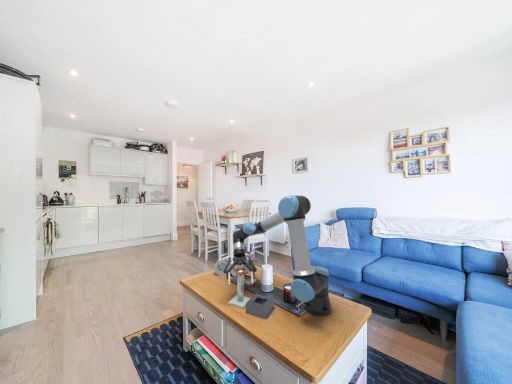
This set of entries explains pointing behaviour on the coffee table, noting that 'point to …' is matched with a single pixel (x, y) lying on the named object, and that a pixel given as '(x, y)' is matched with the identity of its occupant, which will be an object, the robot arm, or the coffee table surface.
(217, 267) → the sculpture
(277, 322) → the coffee table surface
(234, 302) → the pad
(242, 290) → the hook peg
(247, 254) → the toy
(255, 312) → the eye block
